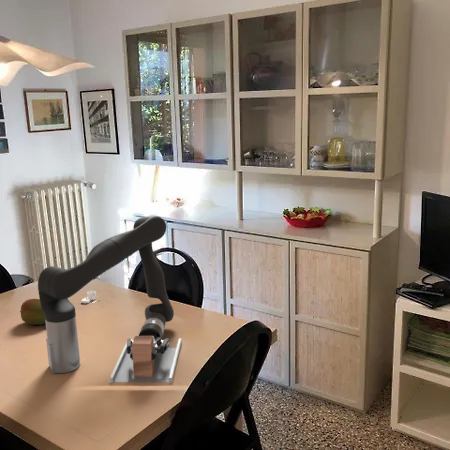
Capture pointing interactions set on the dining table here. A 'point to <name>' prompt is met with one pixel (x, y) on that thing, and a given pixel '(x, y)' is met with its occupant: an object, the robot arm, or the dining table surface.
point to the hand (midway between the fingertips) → (142, 357)
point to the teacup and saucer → (89, 297)
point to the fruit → (32, 312)
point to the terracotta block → (143, 356)
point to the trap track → (162, 370)
